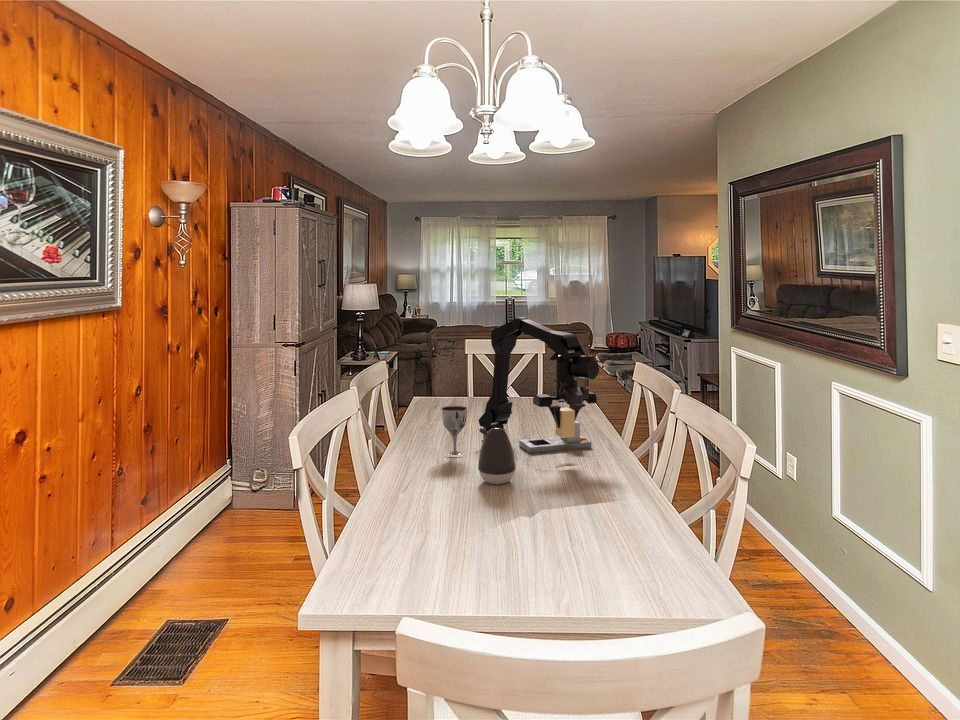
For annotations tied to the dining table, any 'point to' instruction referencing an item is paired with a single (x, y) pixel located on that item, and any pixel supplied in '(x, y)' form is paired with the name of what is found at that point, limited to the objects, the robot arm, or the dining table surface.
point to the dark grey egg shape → (496, 457)
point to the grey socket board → (552, 445)
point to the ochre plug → (566, 423)
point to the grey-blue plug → (577, 434)
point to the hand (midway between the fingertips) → (565, 427)
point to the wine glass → (454, 422)
